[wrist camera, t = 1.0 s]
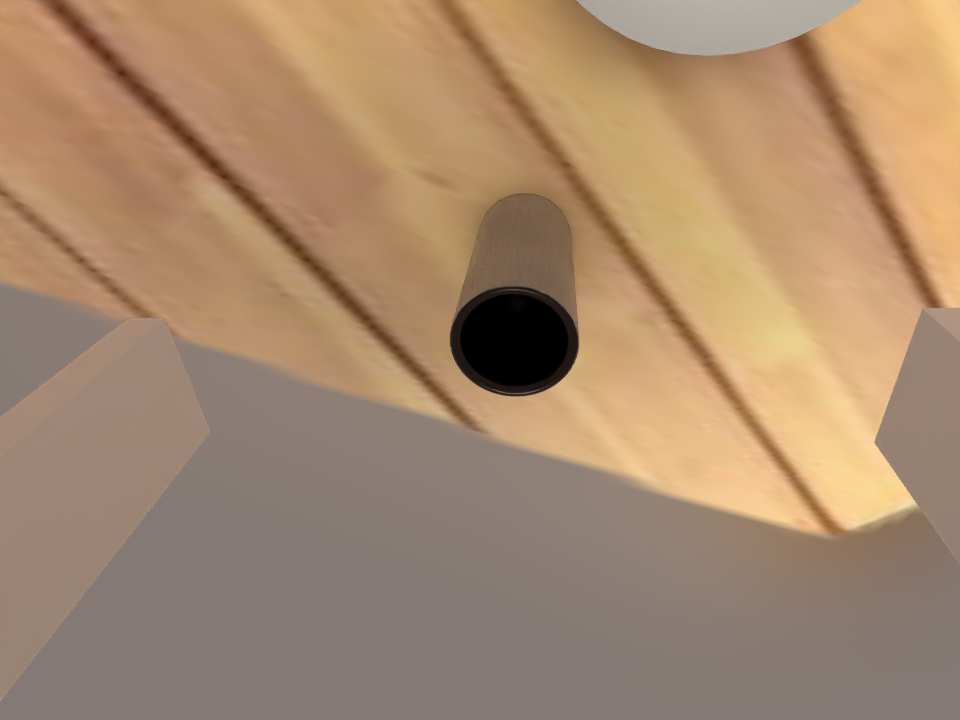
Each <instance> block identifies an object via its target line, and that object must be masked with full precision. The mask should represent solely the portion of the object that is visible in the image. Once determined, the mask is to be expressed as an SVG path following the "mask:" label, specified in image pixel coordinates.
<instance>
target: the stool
mask: <svg viewBox="0 0 960 720" xmlns="http://www.w3.org/2000/svg"><path fill="white" fill-rule="evenodd" d="M576 1H577V2H578V3H579V4H580V5H581V6H582V7H583V8H585V9H586V10H587V11H588V12H590V13H591V14H592V15H593V16H595V17H596V18H597V19H598V20H600V21H601V22H602V23H603V24H605V25H606V26H608V27H610V28H612V29H613V30H615V31H617V32H619V33H620V34H622V35H624V36H625V37H627V38H629V39H632V40H634V41H637V42H639V43H642V44H644V45H647V46H650V47H652V48H656V49H660V50H665V51H669V52H674V53H678V54H688V55H702V56H713V55H727V54H738V53H743V52H748V51H752V50H757V49H762V48H766V47H769V46H772V45H775V44H778V43H781V42H784V41H787V40H790V39H792V38H795V37H798V36H800V35H802V34H804V33H806V32H808V31H810V30H812V29H814V28H816V27H818V26H820V25H823V24H825V23H827V22H828V21H830V20H831V19H833V18H835V17H836V16H838V15H839V14H841V13H843V12H844V11H846V10H847V9H849V8H851V7H852V6H854V5H856V4H857V3H858V2H860V1H861V0H576Z"/></svg>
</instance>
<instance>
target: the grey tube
mask: <svg viewBox="0 0 960 720" xmlns="http://www.w3.org/2000/svg"><path fill="white" fill-rule="evenodd" d="M450 347H451V351H452V355H453V357H454V360H455V362H456V364H457V365H458V367H459V368H460V370H461V371H462V372H463V374H464V375H465V376H466V377H467V378H468V379H470V380H471V381H472V382H473V383H475V384H476V385H478V386H479V387H481V388H483V389H485V390H487V391H490V392H492V393H496V394H500V395H505V396H528V395H533V394H537V393H540V392H542V391H545V390H547V389H549V388H551V387H553V386H554V385H556V384H557V383H558V382H560V381H561V380H562V379H563V378H564V377H565V376H566V375H567V374H568V372H569V371H570V370H571V368H572V366H573V365H574V363H575V360H576V358H577V354H578V350H579V330H578V317H577V305H576V292H575V280H574V267H573V254H572V242H571V233H570V229H569V225H568V222H567V220H566V218H565V216H564V214H563V213H562V212H561V210H560V209H559V208H558V207H557V206H556V205H555V204H553V203H552V202H550V201H549V200H547V199H545V198H543V197H540V196H537V195H532V194H518V195H513V196H510V197H507V198H505V199H503V200H501V201H499V202H498V203H496V204H495V205H494V206H493V207H492V208H491V209H490V210H489V211H488V213H487V214H486V216H485V217H484V219H483V221H482V224H481V226H480V229H479V232H478V236H477V239H476V243H475V246H474V249H473V253H472V256H471V260H470V263H469V267H468V270H467V274H466V277H465V281H464V284H463V288H462V291H461V294H460V298H459V301H458V305H457V308H456V312H455V315H454V319H453V322H452V326H451V331H450Z"/></svg>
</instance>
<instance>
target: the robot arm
mask: <svg viewBox="0 0 960 720" xmlns="http://www.w3.org/2000/svg"><path fill="white" fill-rule="evenodd" d="M209 433H210V430H209V427H208V425H207V422H206V420H205V417H204V415H203V412H202V409H201V407H200V405H199V402H198V399H197V397H196V394H195V392H194V389H193V387H192V384H191V382H190V379H189V377H188V374H187V372H186V369H185V367H184V364H183V362H182V359H181V357H180V354H179V352H178V349H177V347H176V344H175V341H174V339H173V336H172V334H171V331H170V329H169V326H168V324H167V321H166V319H165V318H128V319H127V320H125V321H124V322H123V323H121V324H120V325H119V326H118V327H116V328H115V329H114V330H112V331H111V332H110V333H108V334H107V335H106V336H104V337H103V338H102V339H101V340H99V341H98V342H97V343H95V344H94V345H93V346H92V347H90V348H89V349H88V350H86V351H85V352H84V353H82V354H81V355H80V356H79V357H77V358H76V359H75V360H73V361H72V362H71V363H70V364H68V365H67V366H66V367H64V368H63V369H62V370H60V371H59V372H58V373H57V374H55V375H54V376H53V377H51V378H50V379H49V380H47V381H46V382H45V383H44V384H42V385H41V386H40V387H38V388H37V389H36V390H34V391H33V392H32V393H31V394H29V395H28V396H27V397H25V398H24V399H23V400H22V401H20V402H19V403H18V404H16V405H15V406H14V407H12V408H11V409H10V410H8V411H7V412H6V413H5V414H3V415H2V416H1V417H0V701H1V700H2V699H3V697H4V696H5V695H6V693H7V692H8V691H9V689H10V688H11V687H12V686H13V684H14V683H15V682H16V681H17V679H18V678H19V677H20V675H21V674H22V673H23V672H24V670H25V669H26V668H27V666H28V665H29V664H30V663H31V661H32V660H33V659H34V657H35V656H36V655H37V654H38V652H39V651H40V650H41V649H42V647H43V646H44V645H45V643H46V642H47V641H48V640H49V638H50V637H51V636H52V635H53V633H54V632H55V631H56V629H57V628H58V627H59V626H60V624H61V623H62V622H63V620H64V619H65V618H66V617H67V615H68V614H69V613H70V611H71V610H72V609H73V608H74V606H75V605H76V604H77V603H78V601H79V600H80V599H81V597H82V596H83V595H84V594H85V592H86V591H87V590H88V588H89V587H90V586H91V584H92V583H93V582H94V581H95V579H96V578H97V577H98V576H99V574H100V573H101V572H102V570H103V569H104V568H105V566H106V565H107V564H108V563H109V562H110V560H111V559H112V558H113V556H114V555H115V554H116V553H117V551H118V550H119V549H120V547H121V546H122V545H123V544H124V542H125V541H126V540H127V538H128V537H129V536H130V534H131V533H132V532H133V531H134V529H135V528H136V527H137V526H138V524H139V523H140V522H141V521H142V519H143V518H144V517H145V515H146V514H147V513H148V512H149V510H150V509H151V508H152V506H153V505H154V504H155V503H156V501H157V500H158V499H159V498H160V496H161V495H162V494H163V492H164V491H165V490H166V489H167V487H168V486H169V485H170V483H171V482H172V481H173V479H174V478H175V477H176V476H177V474H178V473H179V472H180V471H181V469H182V468H183V467H184V465H185V464H186V463H187V462H188V460H189V459H190V458H191V456H192V455H193V454H194V453H195V451H196V450H197V449H198V447H199V446H200V445H201V444H202V442H203V441H204V440H205V439H206V437H207V436H208V435H209ZM875 444H876V445H877V447H878V448H879V450H880V451H881V453H882V454H883V455H884V457H885V458H886V460H887V461H888V463H889V464H890V466H891V467H892V468H893V470H894V471H895V473H896V474H897V476H898V477H899V478H900V480H901V481H902V483H903V484H904V486H905V487H906V489H907V490H908V491H909V493H910V494H911V496H912V497H913V499H914V500H915V502H916V503H917V504H918V506H919V507H920V509H921V510H922V512H923V513H924V515H925V516H926V517H927V519H928V520H929V522H930V523H931V524H932V526H933V527H934V529H935V530H936V532H937V533H938V535H939V536H940V538H941V539H942V540H943V542H944V543H945V545H946V546H947V548H948V549H949V551H950V552H951V553H952V555H953V556H954V558H955V559H956V561H957V562H958V564H959V565H960V308H922V311H921V314H920V316H919V319H918V322H917V325H916V328H915V330H914V333H913V336H912V339H911V342H910V344H909V347H908V350H907V353H906V355H905V358H904V361H903V364H902V367H901V369H900V372H899V375H898V378H897V381H896V383H895V386H894V389H893V392H892V394H891V397H890V400H889V403H888V406H887V408H886V411H885V414H884V417H883V420H882V422H881V425H880V428H879V431H878V433H877V436H876V439H875Z"/></svg>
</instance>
